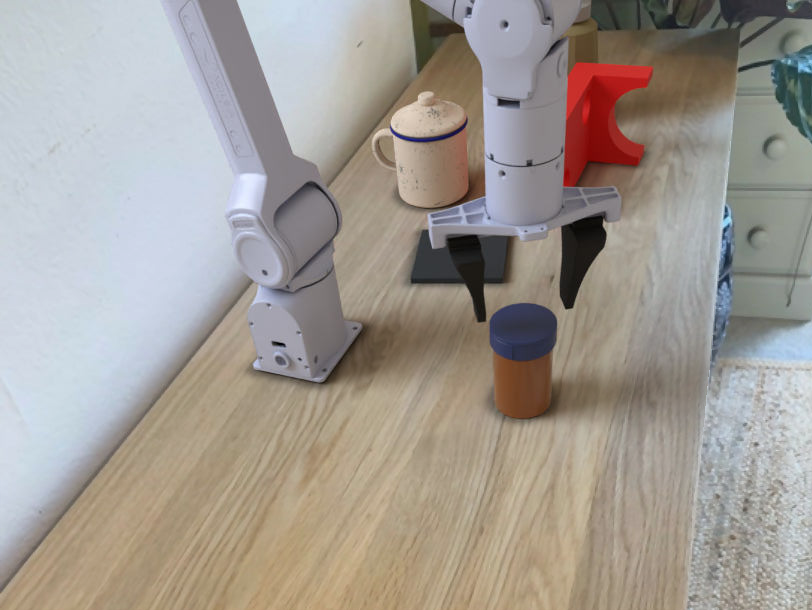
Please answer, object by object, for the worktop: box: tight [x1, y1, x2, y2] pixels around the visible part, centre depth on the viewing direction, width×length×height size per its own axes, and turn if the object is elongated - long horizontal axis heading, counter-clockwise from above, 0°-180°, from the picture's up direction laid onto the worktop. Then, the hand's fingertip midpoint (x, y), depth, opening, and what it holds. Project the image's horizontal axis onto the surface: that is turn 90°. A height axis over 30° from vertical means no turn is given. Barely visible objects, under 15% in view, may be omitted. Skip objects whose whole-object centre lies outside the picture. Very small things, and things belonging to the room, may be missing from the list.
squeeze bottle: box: [558, 0, 599, 77], centre depth 108 cm, size 8×8×18 cm
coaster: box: [410, 228, 510, 284], centre depth 95 cm, size 10×10×1 cm
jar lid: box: [488, 302, 558, 361], centre depth 73 cm, size 6×6×2 cm
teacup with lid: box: [371, 90, 470, 209], centre depth 102 cm, size 12×9×12 cm
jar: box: [492, 348, 554, 419], centre depth 76 cm, size 5×5×8 cm
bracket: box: [563, 62, 654, 187], centre depth 100 cm, size 18×10×10 cm
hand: (523, 308), depth 71 cm, fingers open, 7 cm apart
